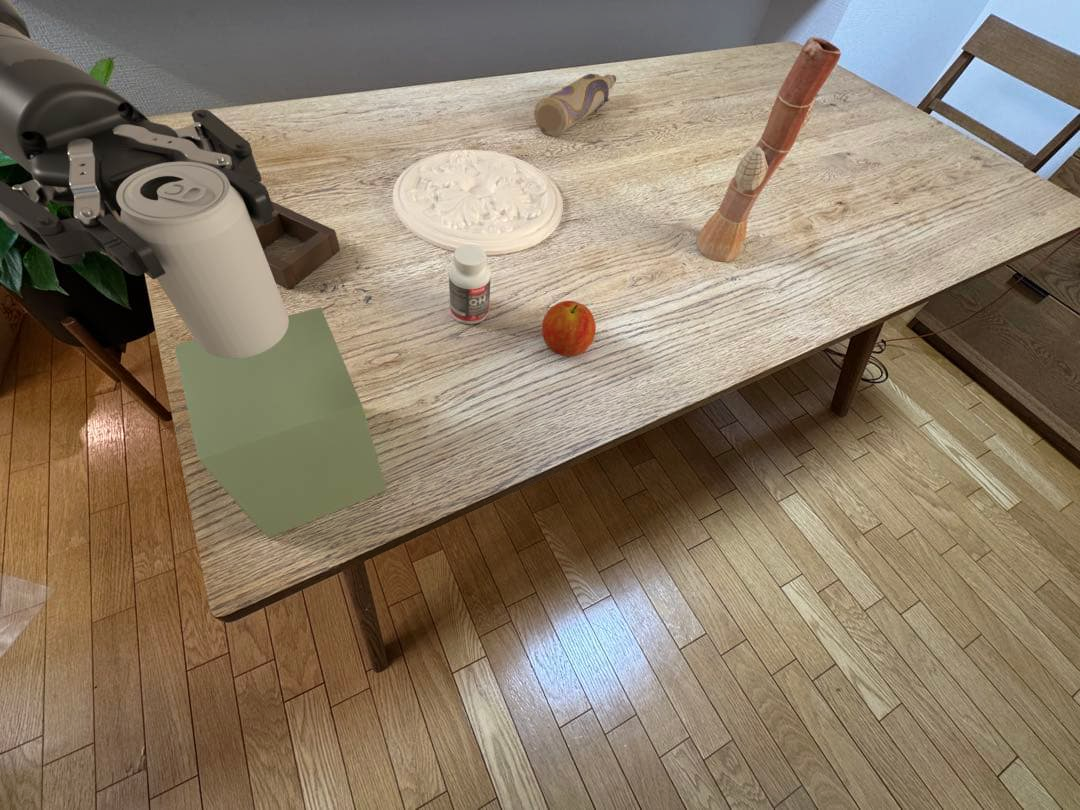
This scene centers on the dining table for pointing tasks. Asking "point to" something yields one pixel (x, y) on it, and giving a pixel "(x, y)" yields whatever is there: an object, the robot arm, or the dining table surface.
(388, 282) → the dining table surface
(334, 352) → the stand
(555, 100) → the decorative bottle
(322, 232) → the tray
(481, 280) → the pill bottle
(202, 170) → the beverage can
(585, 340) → the fruit
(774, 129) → the vase
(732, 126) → the dining table surface
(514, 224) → the ceiling medallion
